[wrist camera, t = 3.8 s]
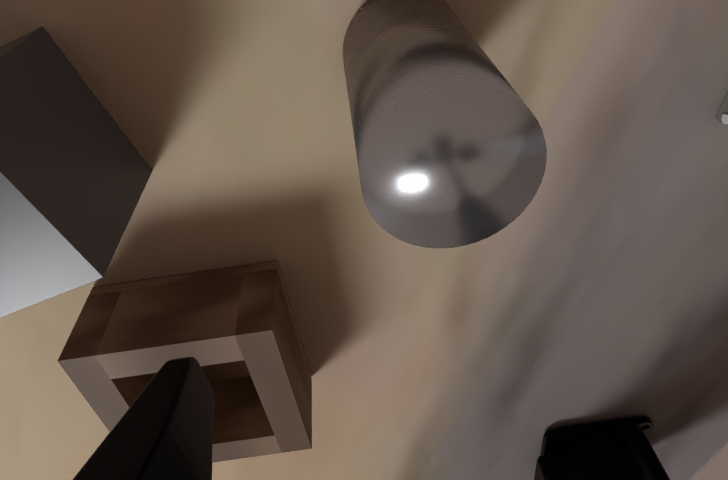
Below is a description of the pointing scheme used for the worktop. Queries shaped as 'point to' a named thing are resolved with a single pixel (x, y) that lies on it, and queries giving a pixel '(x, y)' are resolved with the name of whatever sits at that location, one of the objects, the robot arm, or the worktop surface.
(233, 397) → the socket block
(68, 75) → the grey cube
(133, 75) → the worktop surface
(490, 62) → the grey cylinder
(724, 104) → the white tall twisted piece
